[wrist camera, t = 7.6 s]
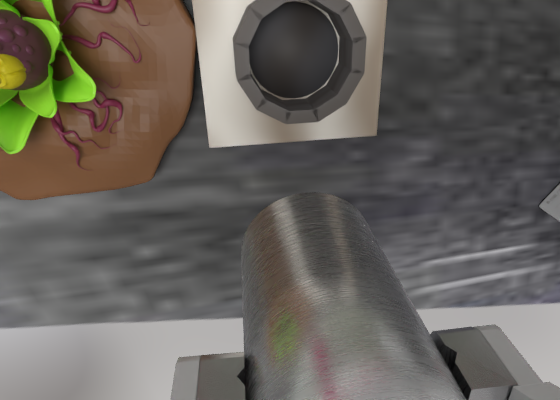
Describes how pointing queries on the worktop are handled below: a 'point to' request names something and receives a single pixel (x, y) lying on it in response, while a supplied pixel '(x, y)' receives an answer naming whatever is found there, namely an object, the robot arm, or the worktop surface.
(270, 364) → the frosted cylinder in socket
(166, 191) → the worktop surface
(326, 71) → the duct board
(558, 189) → the supplement box
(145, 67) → the plant
